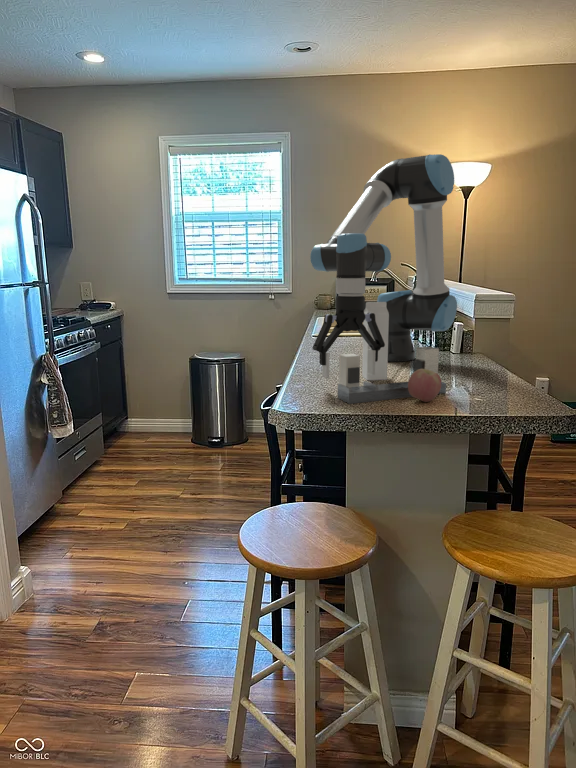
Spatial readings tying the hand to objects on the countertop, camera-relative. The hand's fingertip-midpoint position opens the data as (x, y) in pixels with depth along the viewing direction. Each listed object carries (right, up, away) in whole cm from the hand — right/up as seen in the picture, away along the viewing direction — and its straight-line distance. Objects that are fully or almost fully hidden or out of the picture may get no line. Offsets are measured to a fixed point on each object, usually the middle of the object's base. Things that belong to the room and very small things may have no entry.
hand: (348, 375), depth 151 cm
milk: (+9, -1, +14) cm, 17 cm away
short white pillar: (0, -3, +1) cm, 4 cm away
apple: (+17, -7, -14) cm, 23 cm away
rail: (+10, -5, -8) cm, 14 cm away
